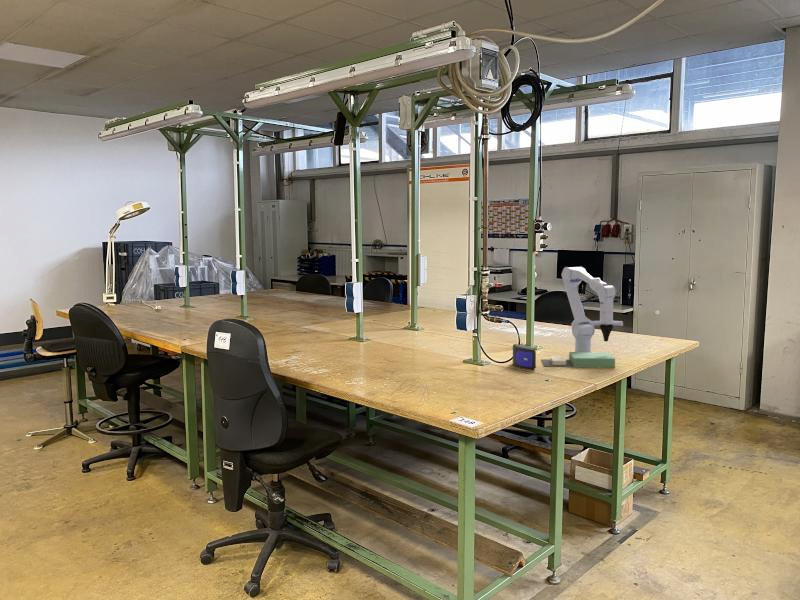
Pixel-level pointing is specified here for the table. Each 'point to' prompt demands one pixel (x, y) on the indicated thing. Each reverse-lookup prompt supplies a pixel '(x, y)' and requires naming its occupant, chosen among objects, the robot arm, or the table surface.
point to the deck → (591, 359)
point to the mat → (548, 364)
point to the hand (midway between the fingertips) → (605, 341)
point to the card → (558, 360)
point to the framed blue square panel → (524, 357)
